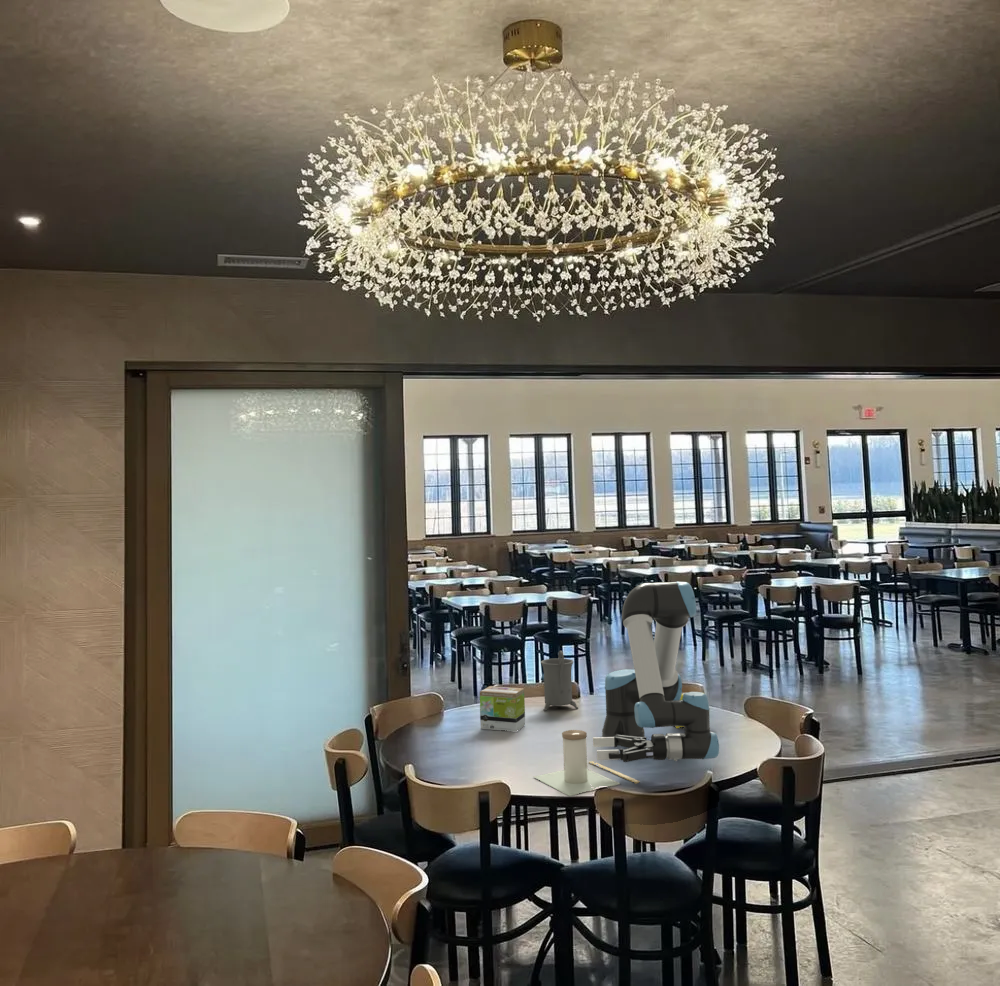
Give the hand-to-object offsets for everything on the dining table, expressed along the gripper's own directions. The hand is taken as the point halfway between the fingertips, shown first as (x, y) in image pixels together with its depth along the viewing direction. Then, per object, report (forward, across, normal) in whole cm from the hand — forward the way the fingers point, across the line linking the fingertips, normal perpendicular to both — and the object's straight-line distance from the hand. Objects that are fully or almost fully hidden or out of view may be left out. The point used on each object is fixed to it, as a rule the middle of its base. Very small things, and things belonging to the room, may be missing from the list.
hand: (594, 748), depth 241 cm
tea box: (+30, +64, -10) cm, 71 cm away
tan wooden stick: (-6, +7, -10) cm, 13 cm away
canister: (+6, 0, -9) cm, 11 cm away
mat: (+6, 0, -10) cm, 11 cm away
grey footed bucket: (+7, +92, -10) cm, 93 cm away
